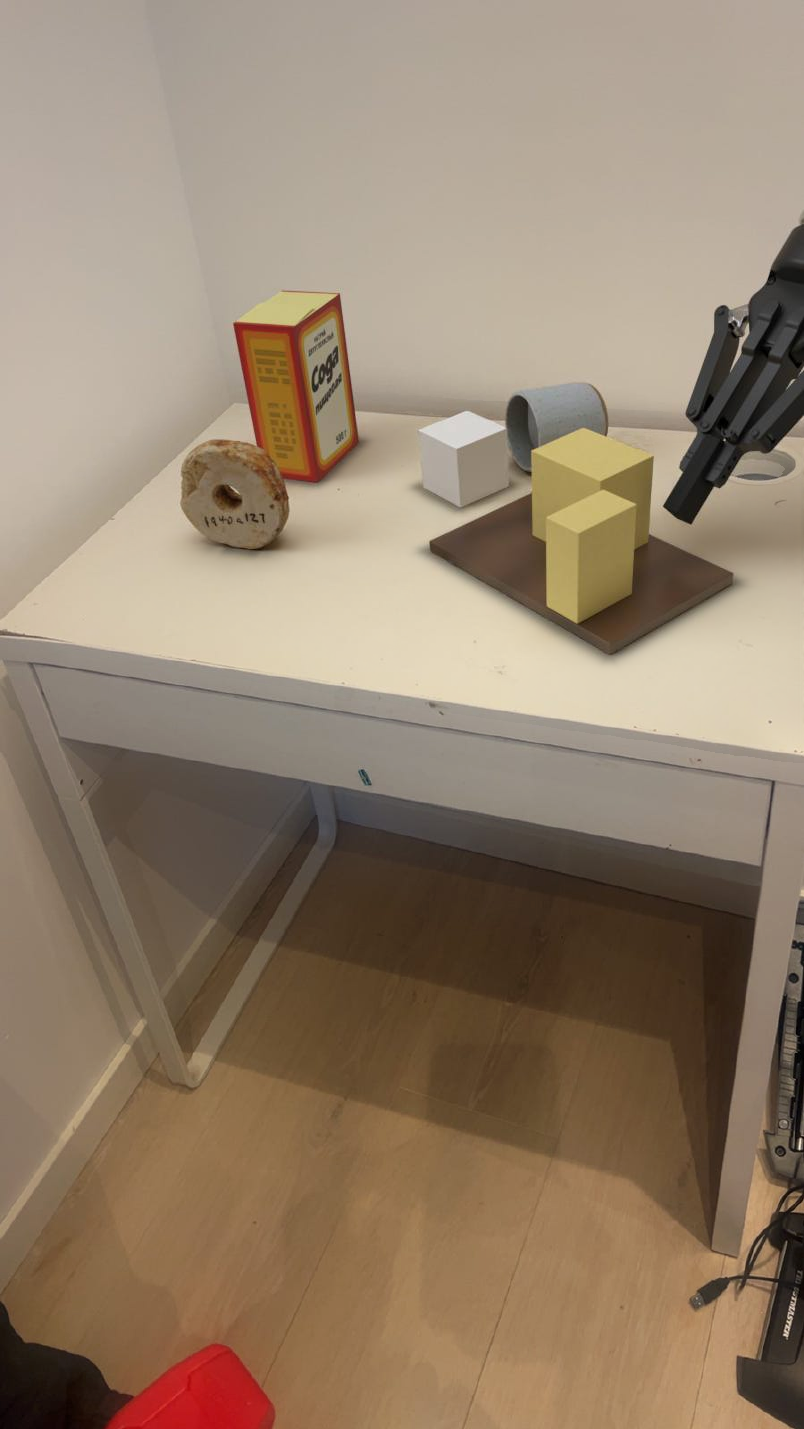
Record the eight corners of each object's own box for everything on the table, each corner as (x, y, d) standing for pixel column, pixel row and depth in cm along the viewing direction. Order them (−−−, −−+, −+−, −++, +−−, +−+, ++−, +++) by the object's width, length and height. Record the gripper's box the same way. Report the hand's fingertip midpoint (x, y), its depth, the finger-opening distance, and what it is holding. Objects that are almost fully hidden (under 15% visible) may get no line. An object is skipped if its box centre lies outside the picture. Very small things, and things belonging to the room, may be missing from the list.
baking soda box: (306, 436, 114) (281, 286, 104) (358, 442, 111) (339, 289, 101) (262, 475, 107) (232, 319, 97) (317, 482, 105) (292, 323, 95)
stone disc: (303, 536, 97) (286, 436, 90) (286, 557, 94) (267, 454, 88) (207, 525, 100) (183, 428, 94) (187, 545, 98) (162, 445, 91)
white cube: (470, 467, 105) (467, 410, 101) (509, 486, 101) (507, 428, 97) (422, 487, 102) (417, 429, 98) (460, 508, 98) (456, 448, 94)
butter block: (648, 542, 88) (654, 455, 83) (598, 569, 86) (600, 480, 81) (581, 511, 93) (583, 427, 88) (532, 535, 91) (530, 450, 86)
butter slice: (632, 594, 82) (637, 503, 77) (577, 624, 80) (578, 533, 75) (600, 577, 85) (603, 488, 80) (546, 606, 82) (545, 516, 77)
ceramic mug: (612, 462, 102) (615, 386, 97) (539, 484, 100) (538, 407, 95) (559, 427, 110) (559, 355, 105) (490, 446, 108) (486, 373, 103)
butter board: (732, 583, 84) (734, 572, 83) (610, 655, 78) (610, 644, 78) (545, 495, 98) (545, 486, 98) (429, 550, 93) (429, 540, 92)
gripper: (929, 288, 79) (760, 560, 83) (784, 258, 88) (637, 506, 91) (902, 232, 73) (723, 526, 77) (751, 206, 82) (596, 472, 85)
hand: (677, 515), depth 84 cm, fingers closed
